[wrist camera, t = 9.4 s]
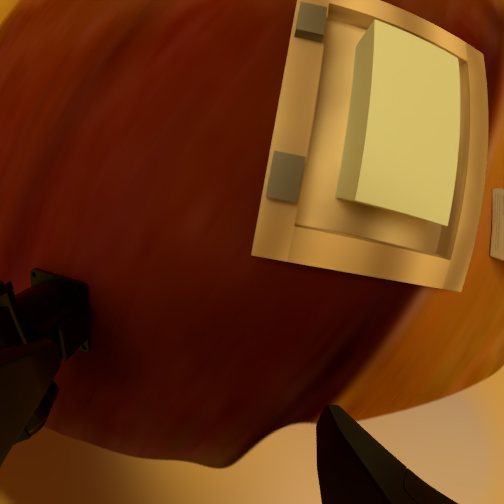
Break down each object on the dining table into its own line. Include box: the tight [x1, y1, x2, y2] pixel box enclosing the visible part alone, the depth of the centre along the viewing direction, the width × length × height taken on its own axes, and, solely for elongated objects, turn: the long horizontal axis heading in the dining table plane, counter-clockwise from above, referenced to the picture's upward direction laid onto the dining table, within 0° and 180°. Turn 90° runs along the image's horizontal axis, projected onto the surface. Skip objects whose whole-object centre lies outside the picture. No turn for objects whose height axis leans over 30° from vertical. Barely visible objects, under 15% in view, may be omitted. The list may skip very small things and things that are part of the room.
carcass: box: [251, 0, 488, 292], centre depth 15 cm, size 15×19×4 cm
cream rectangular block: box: [335, 19, 460, 226], centre depth 14 cm, size 6×11×4 cm, turn 170°
